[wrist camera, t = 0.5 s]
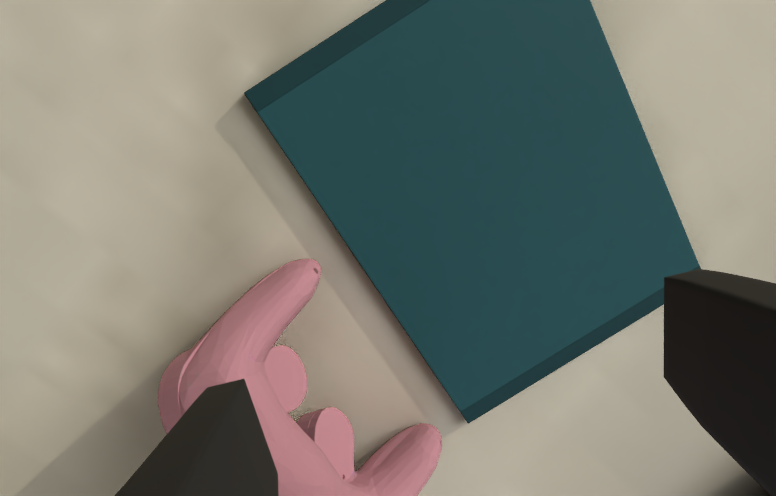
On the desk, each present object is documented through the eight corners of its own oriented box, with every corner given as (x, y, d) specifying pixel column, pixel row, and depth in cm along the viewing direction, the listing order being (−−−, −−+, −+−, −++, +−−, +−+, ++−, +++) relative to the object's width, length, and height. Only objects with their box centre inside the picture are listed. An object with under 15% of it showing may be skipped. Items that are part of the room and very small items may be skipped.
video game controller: (224, 280, 20) (92, 425, 14) (315, 237, 18) (204, 387, 12) (363, 453, 23) (302, 629, 17) (454, 434, 21) (419, 627, 15)
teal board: (466, 419, 22) (468, 424, 21) (244, 92, 17) (243, 92, 16) (699, 276, 21) (705, 279, 21) (543, -102, 16) (547, -105, 16)
